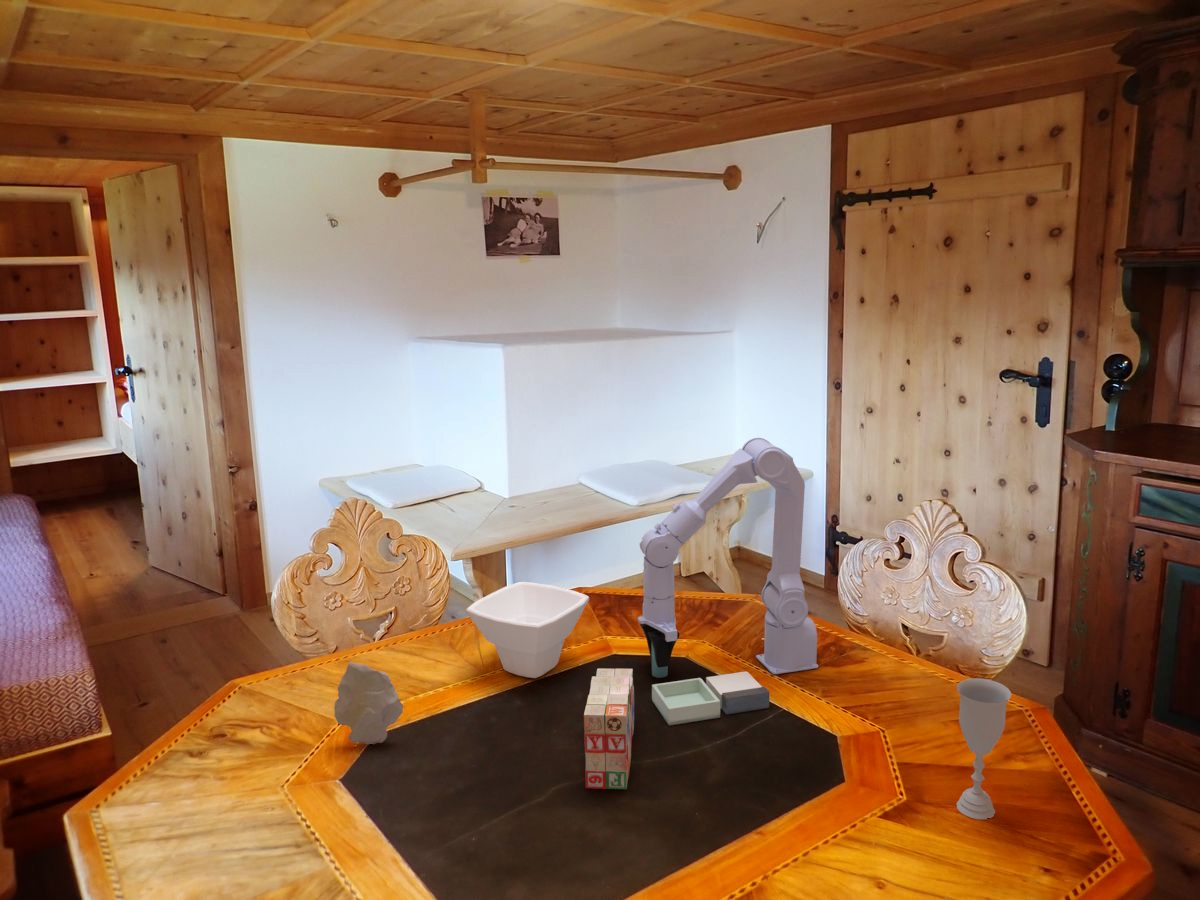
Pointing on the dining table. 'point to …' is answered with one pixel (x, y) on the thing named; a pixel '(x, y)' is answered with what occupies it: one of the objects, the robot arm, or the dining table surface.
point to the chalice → (980, 736)
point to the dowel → (657, 671)
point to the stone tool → (367, 704)
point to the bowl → (528, 624)
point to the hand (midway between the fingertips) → (659, 662)
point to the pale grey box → (731, 683)
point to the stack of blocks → (609, 729)
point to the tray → (685, 701)
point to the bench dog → (745, 700)
